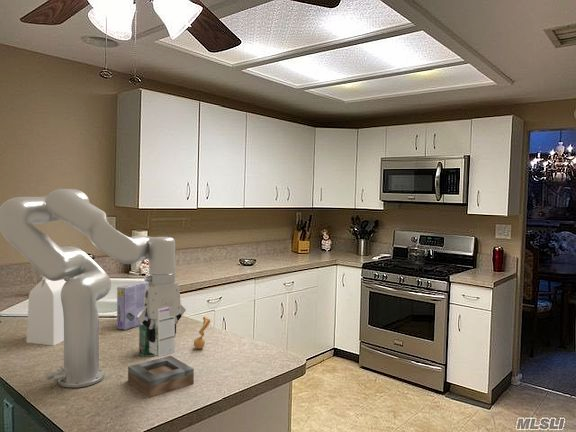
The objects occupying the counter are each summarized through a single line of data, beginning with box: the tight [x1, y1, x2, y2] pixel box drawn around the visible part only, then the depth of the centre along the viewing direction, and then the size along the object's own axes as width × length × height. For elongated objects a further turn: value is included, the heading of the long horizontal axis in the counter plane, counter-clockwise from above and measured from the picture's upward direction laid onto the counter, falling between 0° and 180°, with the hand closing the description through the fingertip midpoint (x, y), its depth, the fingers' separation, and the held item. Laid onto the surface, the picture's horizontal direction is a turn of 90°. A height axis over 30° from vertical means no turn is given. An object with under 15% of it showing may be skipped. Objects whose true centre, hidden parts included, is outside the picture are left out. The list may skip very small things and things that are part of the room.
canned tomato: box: [138, 320, 156, 358], centre depth 156 cm, size 8×8×11 cm
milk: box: [26, 275, 67, 346], centre depth 167 cm, size 12×12×26 cm
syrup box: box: [149, 307, 176, 358], centre depth 131 cm, size 6×6×14 cm
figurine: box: [193, 316, 211, 350], centre depth 161 cm, size 8×6×12 cm
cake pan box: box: [116, 281, 149, 331], centre depth 189 cm, size 19×5×18 cm, turn 155°
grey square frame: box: [127, 355, 195, 398], centre depth 132 cm, size 14×14×4 cm
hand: (161, 338), depth 131 cm, fingers closed on syrup box, 5 cm apart
